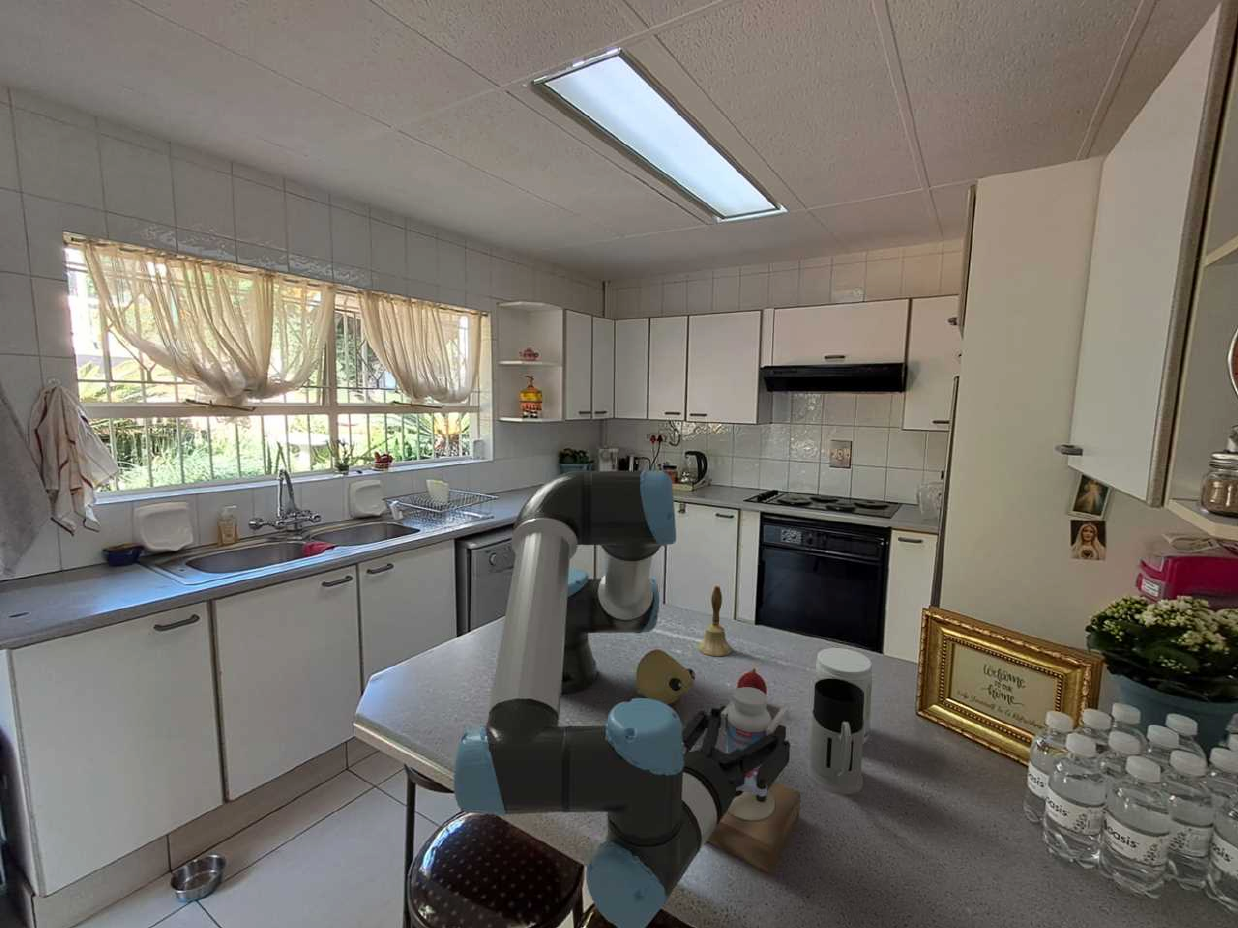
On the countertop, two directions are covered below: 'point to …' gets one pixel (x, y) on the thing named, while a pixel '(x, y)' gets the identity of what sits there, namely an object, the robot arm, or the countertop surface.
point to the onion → (752, 681)
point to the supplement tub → (848, 674)
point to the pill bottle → (747, 720)
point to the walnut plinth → (758, 826)
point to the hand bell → (715, 631)
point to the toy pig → (663, 677)
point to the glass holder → (837, 736)
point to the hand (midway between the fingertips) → (761, 709)
